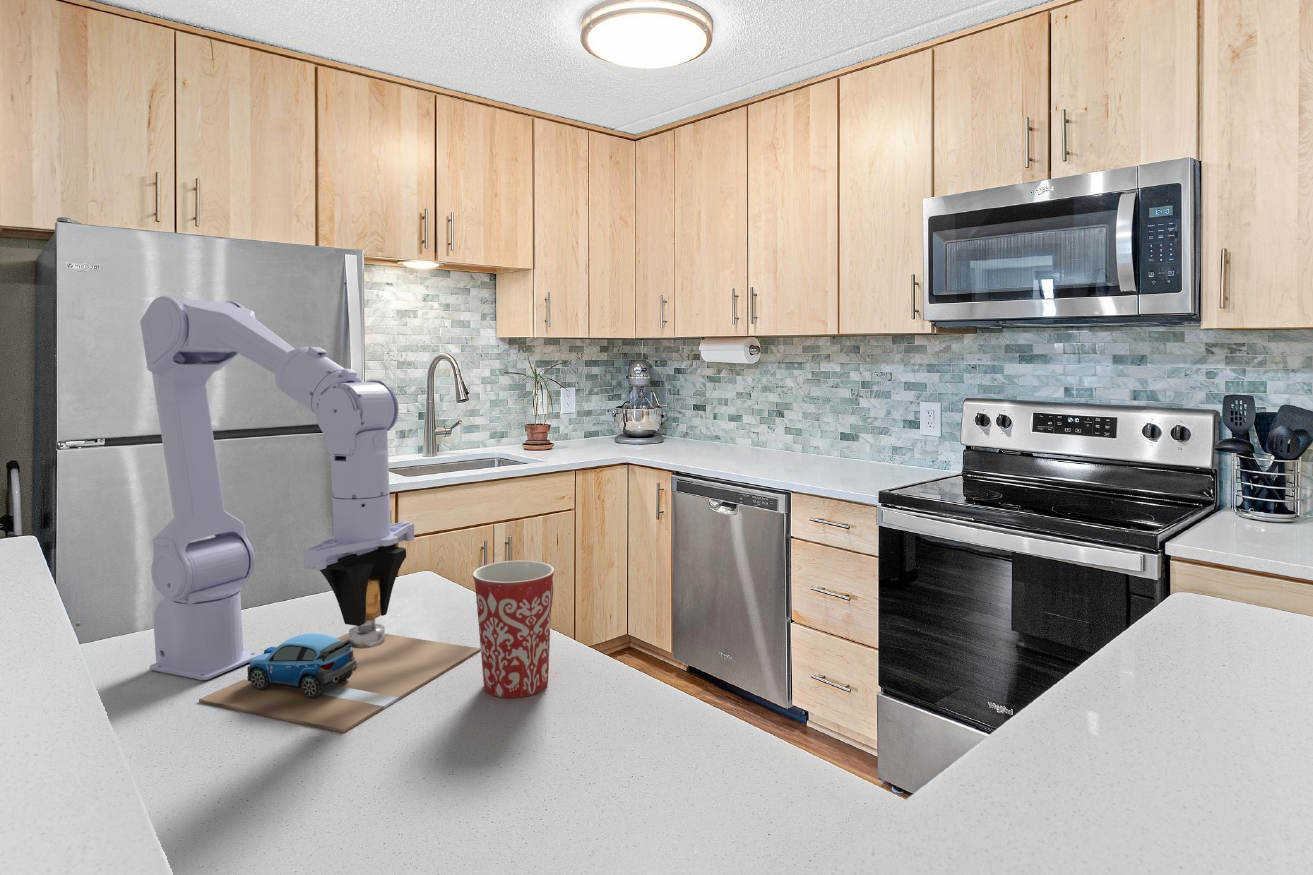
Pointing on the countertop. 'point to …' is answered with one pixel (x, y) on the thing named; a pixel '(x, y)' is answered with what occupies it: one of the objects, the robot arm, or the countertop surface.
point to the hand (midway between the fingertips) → (366, 619)
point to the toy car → (303, 664)
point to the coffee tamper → (369, 619)
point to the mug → (514, 626)
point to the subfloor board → (351, 685)
